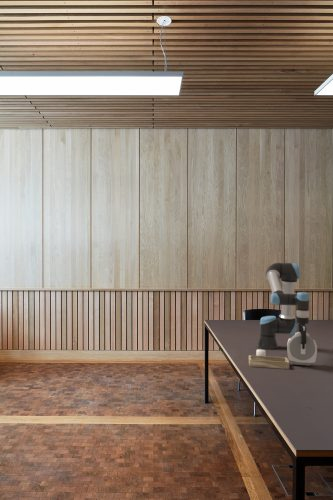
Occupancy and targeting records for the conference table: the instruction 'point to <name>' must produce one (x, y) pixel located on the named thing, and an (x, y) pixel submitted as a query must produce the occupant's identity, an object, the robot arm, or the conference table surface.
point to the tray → (268, 362)
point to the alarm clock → (295, 350)
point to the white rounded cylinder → (260, 352)
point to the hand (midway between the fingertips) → (301, 352)
